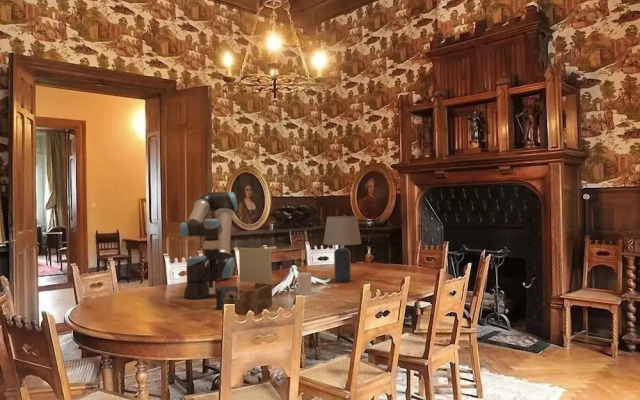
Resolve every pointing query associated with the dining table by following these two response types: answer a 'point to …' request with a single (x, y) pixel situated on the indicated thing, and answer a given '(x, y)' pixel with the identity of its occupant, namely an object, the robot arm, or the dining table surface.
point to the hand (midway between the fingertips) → (212, 293)
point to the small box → (225, 294)
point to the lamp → (342, 243)
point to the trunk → (252, 299)
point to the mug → (303, 283)
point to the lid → (255, 265)
